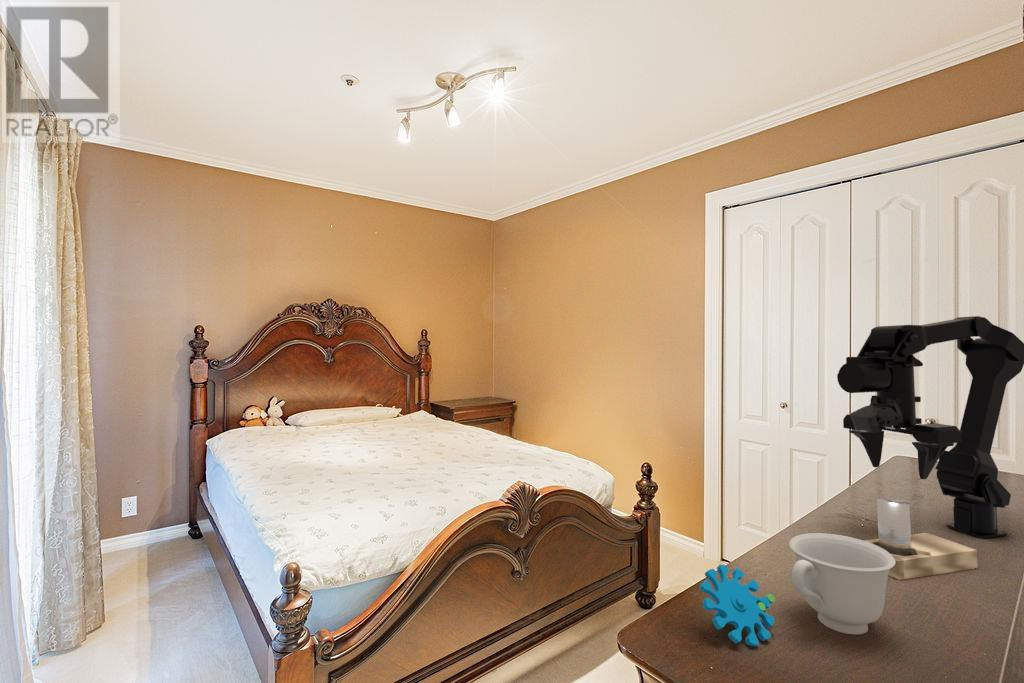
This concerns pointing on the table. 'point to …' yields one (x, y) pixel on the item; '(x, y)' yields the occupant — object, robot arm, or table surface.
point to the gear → (737, 605)
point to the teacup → (841, 579)
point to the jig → (931, 557)
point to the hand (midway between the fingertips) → (898, 472)
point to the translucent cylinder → (894, 525)
